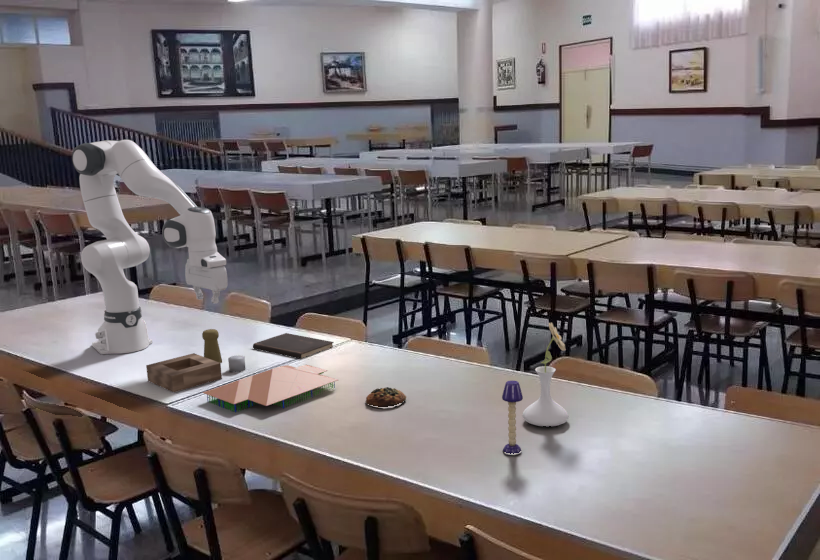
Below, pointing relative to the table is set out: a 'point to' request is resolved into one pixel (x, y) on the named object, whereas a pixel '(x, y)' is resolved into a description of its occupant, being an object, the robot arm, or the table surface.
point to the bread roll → (385, 397)
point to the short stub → (236, 363)
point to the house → (272, 386)
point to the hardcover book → (293, 345)
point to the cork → (211, 345)
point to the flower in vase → (546, 394)
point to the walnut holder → (184, 372)
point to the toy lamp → (512, 413)
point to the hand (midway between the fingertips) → (207, 301)
